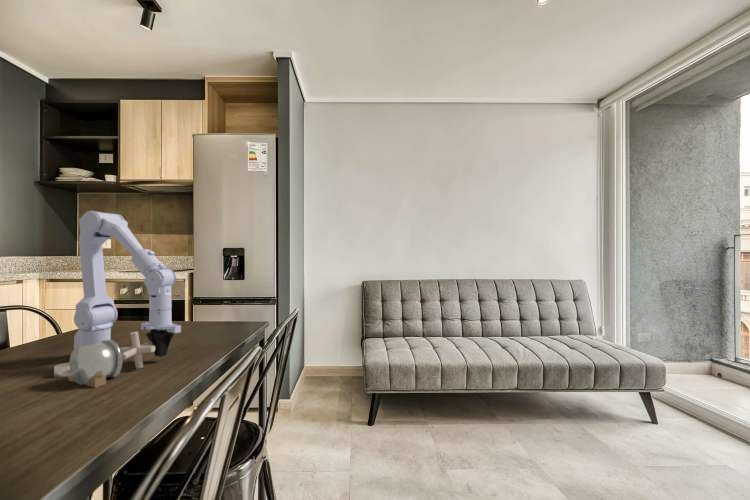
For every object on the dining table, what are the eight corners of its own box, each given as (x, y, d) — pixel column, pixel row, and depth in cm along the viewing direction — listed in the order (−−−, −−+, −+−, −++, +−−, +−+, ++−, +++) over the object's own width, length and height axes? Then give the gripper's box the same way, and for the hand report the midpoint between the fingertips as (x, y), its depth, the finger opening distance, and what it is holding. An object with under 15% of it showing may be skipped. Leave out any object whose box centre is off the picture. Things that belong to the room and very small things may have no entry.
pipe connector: (142, 374, 97) (137, 337, 96) (108, 375, 98) (102, 339, 97) (167, 359, 107) (163, 326, 106) (136, 361, 108) (131, 328, 107)
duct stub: (66, 382, 91) (67, 343, 91) (97, 374, 98) (98, 337, 98) (93, 389, 87) (94, 348, 87) (123, 380, 93) (124, 341, 93)
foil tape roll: (49, 375, 95) (49, 365, 95) (71, 370, 100) (72, 360, 100) (60, 378, 93) (61, 368, 93) (83, 372, 98) (83, 363, 98)
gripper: (130, 310, 108) (131, 356, 107) (165, 313, 102) (165, 361, 102) (153, 306, 114) (153, 350, 114) (187, 309, 108) (187, 355, 108)
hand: (160, 355), depth 108 cm, fingers closed
